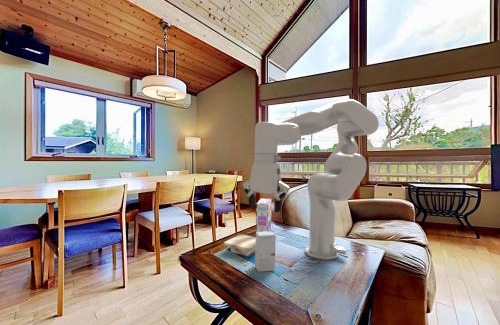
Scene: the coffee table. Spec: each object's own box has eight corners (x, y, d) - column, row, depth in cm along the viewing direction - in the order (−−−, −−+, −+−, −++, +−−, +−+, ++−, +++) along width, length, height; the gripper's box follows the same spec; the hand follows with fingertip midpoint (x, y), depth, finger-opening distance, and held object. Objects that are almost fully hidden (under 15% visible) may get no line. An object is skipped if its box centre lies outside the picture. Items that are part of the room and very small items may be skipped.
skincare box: (257, 272, 79) (258, 235, 78) (254, 266, 83) (254, 231, 83) (275, 270, 80) (276, 234, 80) (271, 264, 85) (271, 230, 84)
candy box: (268, 239, 110) (268, 203, 109) (255, 238, 111) (255, 203, 110) (271, 230, 123) (271, 198, 123) (260, 229, 124) (260, 197, 124)
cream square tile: (264, 248, 99) (264, 239, 99) (249, 259, 88) (249, 248, 88) (240, 242, 105) (240, 233, 105) (223, 252, 95) (223, 242, 95)
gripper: (294, 159, 79) (292, 211, 80) (249, 158, 88) (248, 204, 89) (285, 159, 73) (283, 216, 73) (238, 158, 82) (236, 208, 82)
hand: (264, 209), depth 81 cm, fingers open, 9 cm apart
